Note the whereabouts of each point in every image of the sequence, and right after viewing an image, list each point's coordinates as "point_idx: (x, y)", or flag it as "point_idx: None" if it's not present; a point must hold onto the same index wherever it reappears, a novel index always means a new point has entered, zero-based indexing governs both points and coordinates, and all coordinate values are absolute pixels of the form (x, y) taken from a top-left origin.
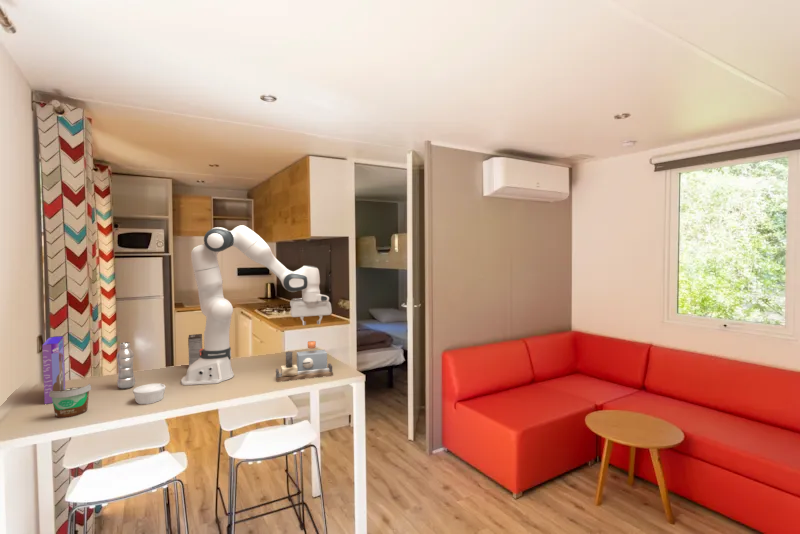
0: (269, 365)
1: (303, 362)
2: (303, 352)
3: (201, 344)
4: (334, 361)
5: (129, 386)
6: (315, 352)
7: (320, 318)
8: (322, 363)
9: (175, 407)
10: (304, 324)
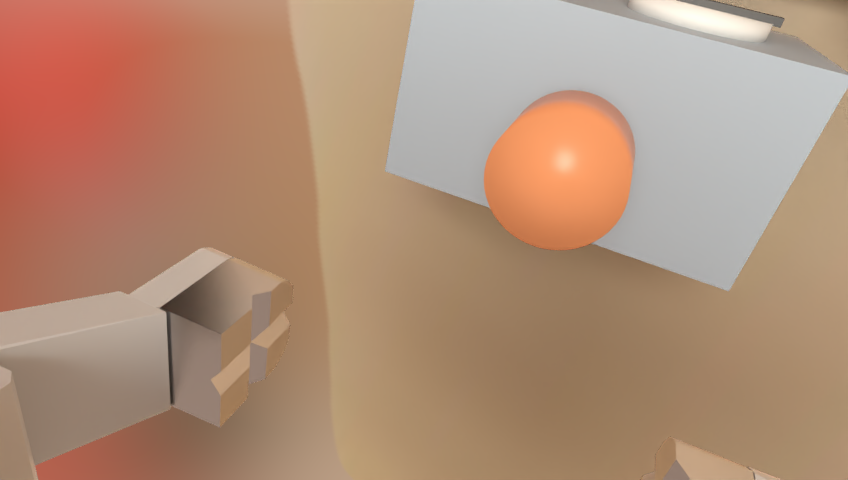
0: (840, 471)
1: (768, 24)
2: (668, 211)
3: None
4: (324, 202)
5: None
6: None
7: (35, 337)
8: None
9: None
10: (739, 475)
